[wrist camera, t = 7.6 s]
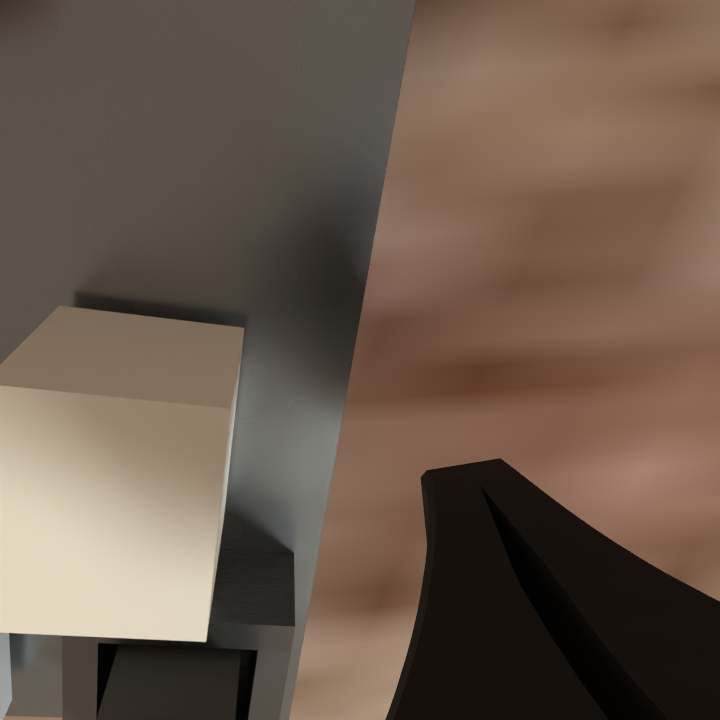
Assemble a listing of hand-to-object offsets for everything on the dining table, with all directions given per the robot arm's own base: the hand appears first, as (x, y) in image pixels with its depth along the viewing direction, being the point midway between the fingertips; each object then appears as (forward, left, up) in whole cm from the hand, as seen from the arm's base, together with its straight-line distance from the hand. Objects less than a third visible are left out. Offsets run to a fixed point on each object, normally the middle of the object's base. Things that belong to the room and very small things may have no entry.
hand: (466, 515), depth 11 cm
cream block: (+5, 0, -2) cm, 6 cm away
